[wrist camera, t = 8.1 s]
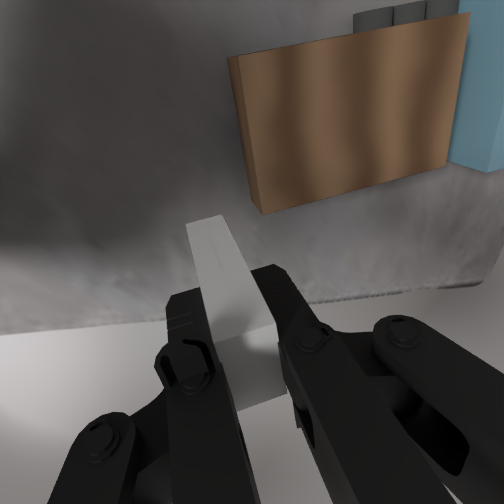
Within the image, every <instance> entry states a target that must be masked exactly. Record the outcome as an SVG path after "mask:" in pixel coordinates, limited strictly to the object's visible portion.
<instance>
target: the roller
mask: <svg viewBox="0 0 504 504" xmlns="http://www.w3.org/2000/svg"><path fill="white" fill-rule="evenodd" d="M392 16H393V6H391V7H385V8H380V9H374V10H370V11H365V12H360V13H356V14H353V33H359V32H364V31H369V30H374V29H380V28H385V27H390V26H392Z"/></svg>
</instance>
